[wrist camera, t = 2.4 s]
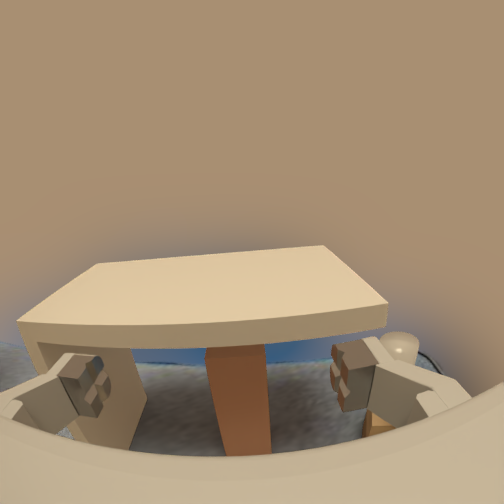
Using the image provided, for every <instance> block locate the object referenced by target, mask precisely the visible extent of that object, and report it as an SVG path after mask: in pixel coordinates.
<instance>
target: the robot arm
mask: <svg viewBox="0 0 504 504" xmlns="http://www.w3.org/2000/svg"><path fill="white" fill-rule="evenodd" d="M331 356H332V358H333V360H334V362H333V363H332V364H331V365H330V378H331V384H332V387H333V390H334V391H335V392H337V393H338V398H337V400H338V402H339V405H340V407H341V410H342V412H349V411H354V410H359V409H364V408H367V409H368V410H370V411H371V412H373V413H374V414H375V415H377V416H379V417H380V418H382V419H383V420H385V421H386V422H388V423H389V424H391V425H392V426H394V427H395V428H396V429H393V430H390V431H387V432H383V433H380V434H376V435H373V436H369V437H365V438H361V439H357V440H353V441H349V442H344V443H340V444H335V445H330V446H325V447H319V448H313V449H307V450H300V451H293V452H285V453H276V454H265V455H250V456H222V457H205V456H178V455H164V454H153V453H144V452H136V451H129V450H122V449H116V448H110V447H105V446H100V445H95V444H90V443H86V442H82V441H77V440H73V439H70V438H66V437H62V436H59V435H55V434H56V433H58V432H59V431H60V430H62V429H63V428H64V427H66V426H67V425H68V424H70V423H71V422H72V421H74V420H75V419H76V418H78V417H79V415H80V416H86V417H93V418H98V416H99V414H100V412H101V411H102V409H103V407H104V406H103V403H102V402H103V401H105V400H107V399H108V397H109V395H110V393H111V382H110V379H109V376H108V375H107V374H106V373H105V372H104V371H103V368H104V363H103V361H102V359H101V358H100V357H99V356H97V355H86V354H76V353H64V354H63V356H62V357H61V358H60V359H59V360H58V361H57V362H56V363H55V364H54V366H53V367H52V368H51V369H50V370H49V371H48V372H47V374H42V375H40V376H37V377H35V378H33V379H31V380H28V381H26V382H24V383H22V384H19V385H17V386H15V387H13V388H10V389H8V390H6V391H3V392H1V393H0V504H504V381H503V382H501V383H500V384H498V385H496V386H494V387H493V388H491V389H489V390H487V391H485V392H483V393H481V394H479V395H477V396H475V397H474V398H471V397H470V395H468V393H467V392H466V391H465V390H464V389H463V388H462V387H461V386H460V384H459V383H458V382H457V381H456V380H455V379H452V378H449V377H446V376H443V375H440V374H437V373H434V372H432V371H429V370H426V369H423V368H420V367H417V366H415V365H412V364H409V363H406V362H404V361H401V360H394V359H393V358H392V357H391V355H390V354H389V353H388V352H387V350H386V349H385V348H384V346H383V345H382V344H381V343H380V341H379V340H378V339H377V338H376V337H374V336H373V337H368V338H364V339H360V340H355V341H350V342H345V343H339V344H334V345H332V350H331Z"/></svg>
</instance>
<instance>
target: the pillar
mask: <svg viewBox="0 0 504 504" xmlns="http://www.w3.org/2000/svg"><path fill="white" fill-rule="evenodd" d="M205 364H206V369H207V374H208V379H209V384H210V388H211V393H212V398H213V402H214V407H215V411H216V415H217V420H218V424H219V428H220V432H221V436H222V440H223V444H224V448H225V452H226V456H250V455H265V454H272V451H271V434H270V418H269V401H268V385H267V370H266V355H265V348H264V344H255V345H242V346H226V347H207V349H206V353H205Z"/></svg>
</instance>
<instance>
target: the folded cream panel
mask: <svg viewBox="0 0 504 504" xmlns="http://www.w3.org/2000/svg"><path fill="white" fill-rule="evenodd" d="M387 313H388V302H387V301H386V300H385V299H384V298H383V297H381V296H380V295H379V294H378V293H377V292H376V291H375V290H374V289H373V288H372V287H370V286H369V285H368V284H367V283H366V282H365V281H364V280H363V279H362V278H360V277H359V276H358V275H357V274H356V273H355V272H354V271H353V270H351V269H350V268H349V267H348V266H347V265H346V264H345V263H344V262H342V261H341V260H340V259H339V258H338V257H336V256H335V255H334V254H333V253H332V252H331V251H330V250H328V249H327V248H326V247H325V246H324V245H322V246H309V247H296V248H283V249H273V250H272V249H271V250H259V251H247V252H234V253H222V254H209V255H197V256H185V257H172V258H161V259H149V260H137V261H136V260H135V261H124V262H111V263H99V264H96V265H94V266H93V267H91V268H90V269H88V270H87V271H85V272H84V273H82V274H81V275H79V276H78V277H76V278H75V279H73V280H72V281H71V282H69V283H68V284H66V285H65V286H63V287H62V288H61V289H59V290H58V291H56V292H55V293H53V294H52V295H50V296H49V297H48V298H46V299H45V300H44V301H42V302H41V303H39V304H38V305H37V306H35V307H34V308H33V309H31V310H30V311H29V312H27V313H26V314H25V315H23V316H22V317H21V318H19V319H18V320H17V321H16V322H17V325H18V328H19V331H20V333H21V336H22V338H23V341H24V344H25V346H26V348H27V351H28V353H29V356H30V358H31V360H32V362H33V365H34V367H35V369H36V371H37V373H38V375H39V376H40V375H42V374H47V372H48V371H49V370H50V369H51V368H52V367H53V366H54V364H55V363H56V362H57V361H58V360H59V359H60V358H61V357H62V356H63V354H64V353H76V354H86V355H97V356H99V357H100V358H101V359H102V361H103V363H104V368H103V371H104V372H105V373H106V374H107V375H108V376H109V379H110V382H111V393H110V395H109V397H108V399H107V400H105V401H103V402H102V403H103V406H104V407H103V409H102V411H101V412H100V414H99V416H98V418H93V417H86V416H80V415H79V417H78V418H76V419H75V420H74V421H72V422H71V423H70V424H68V425H67V428H68V429H69V431H70V432H71V434H72V436H73V437H74V439H75V440H77V441H82V442H86V443H90V444H95V445H100V446H105V447H110V448H116V449H122V450H129V447H130V444H131V442H132V439H133V436H134V433H135V431H136V428H137V425H138V422H139V420H140V417H141V414H142V412H143V409H144V406H145V404H146V401H147V396H146V393H145V391H144V388H143V385H142V382H141V379H140V377H139V374H138V371H137V368H136V365H135V362H134V359H133V356H132V352H131V349H130V348H148V349H153V348H154V349H156V348H159V349H160V348H162V349H165V348H204V347H205V348H206V347H226V346H242V345H255V344H267V343H277V342H287V341H296V340H304V339H312V338H320V337H328V336H334V335H341V334H348V333H354V332H360V331H366V330H372V329H377V328H383V327H386V321H387Z"/></svg>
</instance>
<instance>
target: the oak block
mask: <svg viewBox="0 0 504 504" xmlns="http://www.w3.org/2000/svg"><path fill="white" fill-rule="evenodd" d="M393 429H396V428H395V427H394V426H392V425H391V424H389V423H388V422H386V421H385V420H383V419H382V418H380V417H379V416H377V415H375V414H374V413H373V412H371V411H370V410H368V409H367V412H366V416H365V420H364V424H363V432H362V438H365V437H369V436H373V435H376V434H380V433H383V432H387V431H390V430H393Z"/></svg>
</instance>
